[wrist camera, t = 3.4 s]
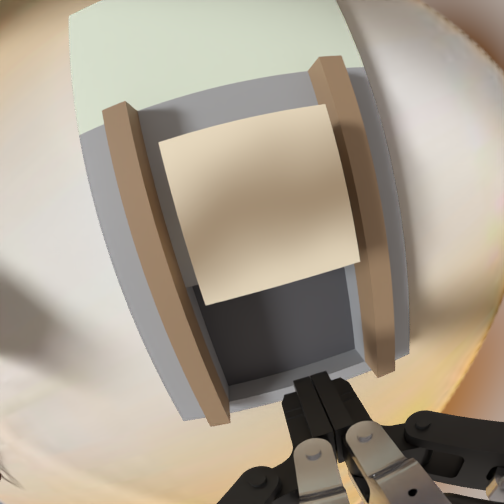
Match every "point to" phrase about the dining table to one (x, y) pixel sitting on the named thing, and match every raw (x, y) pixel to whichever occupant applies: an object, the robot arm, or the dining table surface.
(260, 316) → the channel deck
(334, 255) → the beech block
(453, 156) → the dining table surface
